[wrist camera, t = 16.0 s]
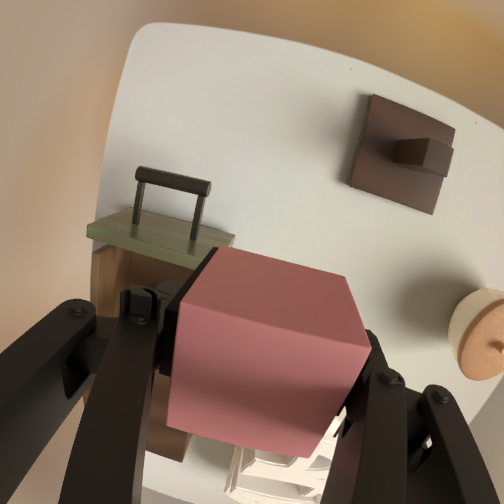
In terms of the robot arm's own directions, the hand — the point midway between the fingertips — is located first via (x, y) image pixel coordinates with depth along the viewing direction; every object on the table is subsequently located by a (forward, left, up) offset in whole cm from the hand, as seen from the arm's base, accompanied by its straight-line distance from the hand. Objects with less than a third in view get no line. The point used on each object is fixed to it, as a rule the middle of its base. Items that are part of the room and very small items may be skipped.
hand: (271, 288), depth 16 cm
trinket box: (+25, +13, -19) cm, 34 cm away
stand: (+3, +14, -19) cm, 24 cm away
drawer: (-4, -12, -18) cm, 22 cm away
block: (0, 0, +3) cm, 3 cm away
